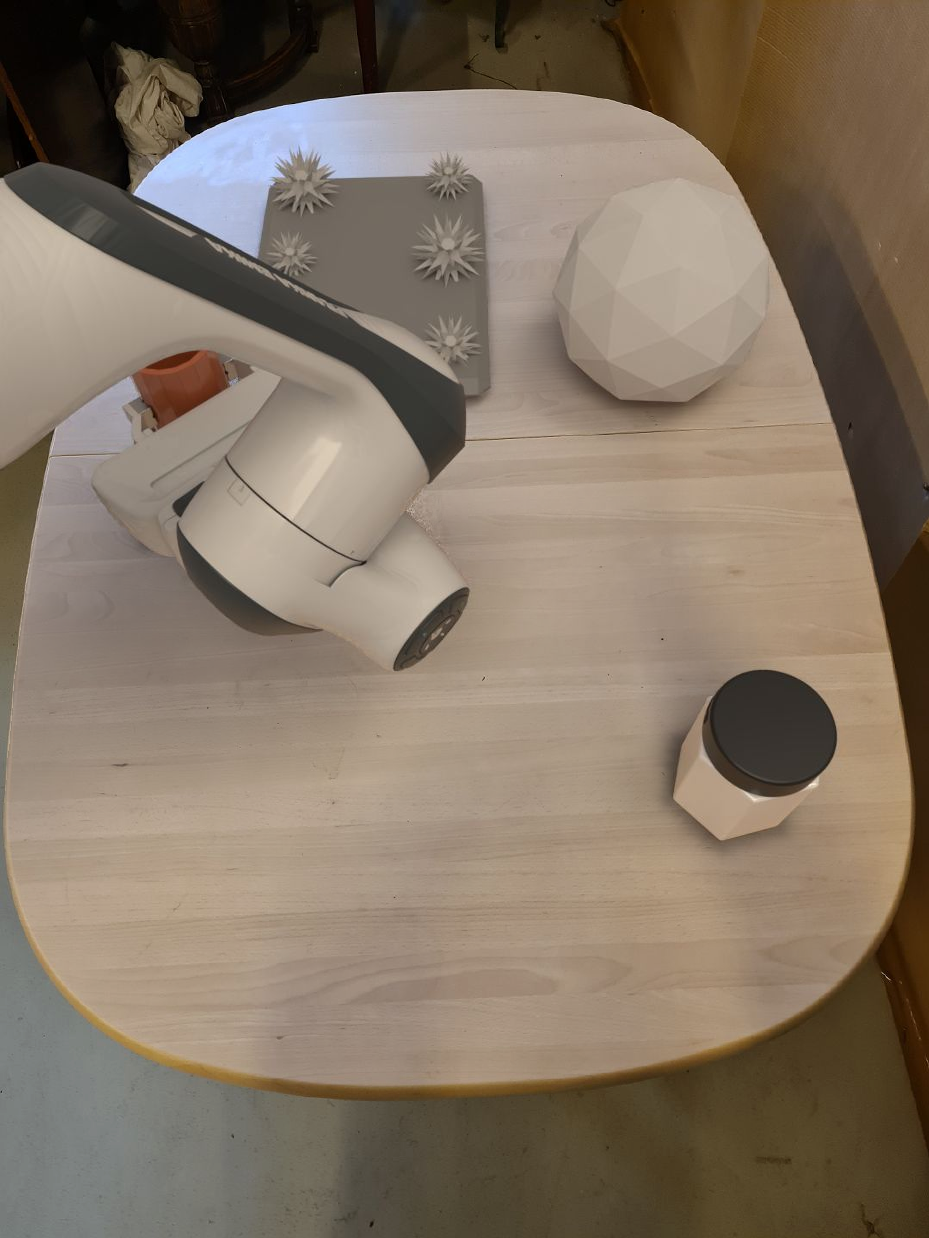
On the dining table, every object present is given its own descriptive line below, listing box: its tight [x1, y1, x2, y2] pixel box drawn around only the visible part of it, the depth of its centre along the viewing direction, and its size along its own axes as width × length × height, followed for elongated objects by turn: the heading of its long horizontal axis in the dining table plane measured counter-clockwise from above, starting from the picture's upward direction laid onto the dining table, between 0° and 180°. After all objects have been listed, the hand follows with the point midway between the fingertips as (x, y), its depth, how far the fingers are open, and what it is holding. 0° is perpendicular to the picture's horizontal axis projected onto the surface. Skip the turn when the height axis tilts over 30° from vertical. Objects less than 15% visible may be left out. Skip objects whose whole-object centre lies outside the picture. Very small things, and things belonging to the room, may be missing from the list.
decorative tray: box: [236, 146, 491, 398], centre depth 90 cm, size 35×26×10 cm
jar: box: [672, 669, 838, 842], centre depth 60 cm, size 9×8×12 cm
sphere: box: [551, 176, 771, 403], centre depth 79 cm, size 19×20×20 cm
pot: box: [129, 350, 231, 431], centre depth 65 cm, size 6×6×10 cm
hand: (177, 382), depth 65 cm, fingers closed on pot, 6 cm apart
